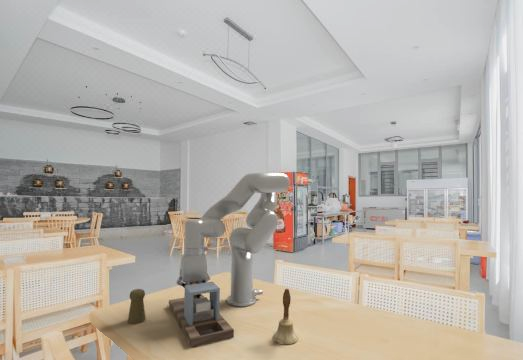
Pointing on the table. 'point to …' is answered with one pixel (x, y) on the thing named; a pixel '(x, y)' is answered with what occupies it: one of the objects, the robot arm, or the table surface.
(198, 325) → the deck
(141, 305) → the cork
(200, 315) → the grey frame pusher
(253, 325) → the table surface
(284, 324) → the hand bell
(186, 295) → the tunnel
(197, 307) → the cream block
